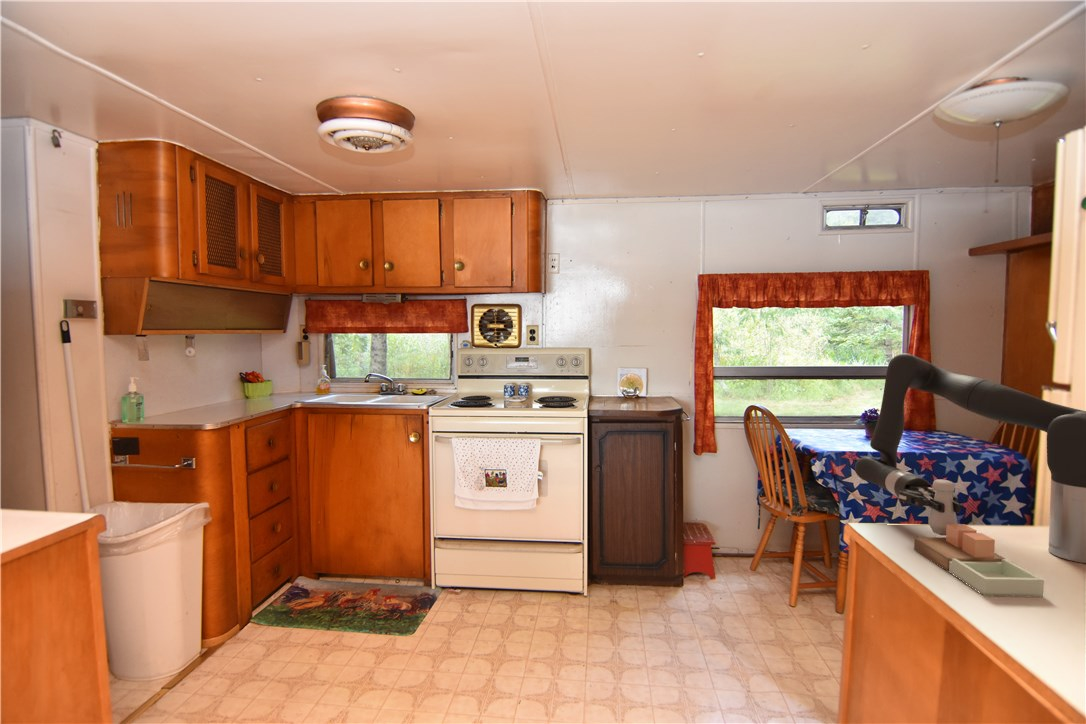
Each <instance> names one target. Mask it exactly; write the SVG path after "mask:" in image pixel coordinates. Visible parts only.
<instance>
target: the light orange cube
mask: <svg viewBox="0 0 1086 724" xmlns="http://www.w3.org/2000/svg"><path fill="white" fill-rule="evenodd" d="M963 533H978V532H977V529H975V528H974V527H973V528H972V527H971V526H968V525H967V524H964V523H958V524H946V536H945V537H946V541H947V542H949V543H951V544H953V545H954V546H956V547H962V542H963Z"/></svg>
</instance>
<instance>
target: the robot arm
mask: <svg viewBox="0 0 1086 724" xmlns="http://www.w3.org/2000/svg"><path fill="white" fill-rule="evenodd" d="M909 389H913V390H914V389H915V390H919V391H922V392H926V393H930V394H933V395H937V396H940V397H942V398H944V399H946V400H948V401H949V402H951V403H952V404H955V406H958V407H960V408H961V409H964V410H967V411H969V412H971V413H974V414H976V415H979V416H982V417H985V418H987V419H989V420H994V421H998V422H1002V423H1006V424H1011V425H1018V426H1023V427H1028V428H1032V429H1036V430H1039V431H1043V432H1045V433H1046V464H1047V466H1048V467H1047V468H1048V470H1049V471H1050V494H1049V495H1050V497H1049V498H1050V501H1049V526H1048V527H1049V528H1048V550H1047V551H1048V552H1050V553H1051V554H1052V555H1054V556H1056V557H1059V558H1062V559H1064V560H1068V561H1072V562H1078V563H1083V564H1086V410H1082V409H1078V408H1074V407H1069V406H1065V405H1061V404H1057V403H1054V402H1050V401H1047V400H1044V399H1042V398H1040V397H1037V396H1034V395H1031V394H1029V393H1026V392H1023V391H1020V390H1017V389H1014V388H1011V387H1009V386H1007V385H1003V384H1000V383H997V382H994V381H991V380H988V379H985V378H981V377H977V376H970V375H967V374H960V373H955V372H951V371H949V370H946V369H944V368H941V367H939V366H937V365H935V364H933V363H931V362H929V361H927V360H925V359H924V358H920V357H918V356H916V355H914V354H910V353H899V354H897V355H895V356H894V357H892V358H891V359H890V361H889V363H888V365H887V368H886V374H885V382H884V388H883V395H882V399H881V406H880V412H879V414H878V415H879V416H878V418H877V422H876V425H875V428H874V431H873V434H872V438H871V440H870V444H869V445H870V448H871V449H873V450H875V451H876V452H878V453H880V458H881V459H877V458H874V457H870V456H863V457H860V458H858V460H856V462H855V465H854V471H855V474H856V475H857V477H858V478H860V479H861V480H863V481H865V482H868V483H871V484H873V485H876V486H879V487H880V488H882V489H884V490H885V491H887V492H889V493H891V494H892V495H894V496H895V497H896V498H897V499H898V501H899V502H902V503H905V504H909V505H911V506H915V507H918V508H924V507H925V508H927V509H932V508H933V509H934V510H936V511H938V512H940V513H944V512H945V505H944V504H943V503H941V502H939V501H936V500H934V497H935V492H936V490H935V489H934V488H933V485H932V484H931V483H930V482H929V481H928V480H927V479H925V478H922V477H920V476H918V475H916V474H913V473H912V472H909V471H905V470H903V469H901V468H898V466H897V461H898V448H899V446H900V442H901V440H902V437H903V434H904V430H905V398H906V395H907V392H908V390H909ZM952 497H953V509H954V512H955V513H956V514H959V513H961V509H962V507H961V506H962V504H961V503H959V502H958V499H959V498H958V496H957V494H956V493H955V491H953V492H952Z"/></svg>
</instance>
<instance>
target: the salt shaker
mask: <svg viewBox="0 0 1086 724" xmlns="http://www.w3.org/2000/svg"><path fill="white" fill-rule="evenodd" d="M955 485H956V484H955V483H954V482H953V481H951V480H947V479H940V478H939V479H935V480H934V481H933V482H932V488H934V489H935V490H936V492H935V497H934V500H936V501H939V502H941V503H943V504H944V505H945V512H944V513H940V512H938V511H936V510H934V509H933V508H930V511H929V512H930V513H929V517H928V519H927V520H928V525H929V527H930V528H931V531H932V533H934V534H936V535H939V536H945V537H946V524H959V523H958V518H957V513H956V512H954V509H953V497H952V492H955V488H956V486H955Z"/></svg>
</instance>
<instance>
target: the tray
mask: <svg viewBox="0 0 1086 724" xmlns="http://www.w3.org/2000/svg"><path fill="white" fill-rule="evenodd" d="M949 572H951V573H952V574H954V575H955V576H957V577H958V578H960V579H961V580H963V581H964V582H965V583H964V582H963V581H962V582H963V583H964V584H966V583H967V584H968V585H967V584H966V585H967V586H969V585H970V586H971V587H970V586H969V587H970V588H972V587H973V588H974V589H973V588H972V589H973V590H975V589H976V590H977V591H976V590H975V591H976V592H978V591H979V592H980V593H979V592H978V593H979V594H980V595H982V594H983V595H982V596H984V597H1009V596H1011V597H1014V596H1016V597H1018V598H1019V597H1020V596H1021V597H1020V598H1023V597H1024V598H1027V597H1029V598H1031V597H1032V598H1044V590H1045V589H1044V588H1045V587H1044V585H1045V579H1044V578H1042V577H1039V576H1038V575H1036V574H1034V573H1033V572H1030V571H1028V570H1026V569H1025V568H1023V567H1021V566H1019V565H1017V564H1016V563H1014V562H1012V561H1010V560H1009V559H1006V558H1005V559H1002V562H961V561H959V560H957V559H953V558H952V561H949ZM949 572H948V573H949ZM952 574H951V575H952ZM954 575H953V576H954ZM955 576H954V577H955ZM957 577H956V578H957ZM958 578H957V579H958ZM960 579H959V580H960ZM961 580H960V581H961ZM1016 597H1014V598H1016Z"/></svg>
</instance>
